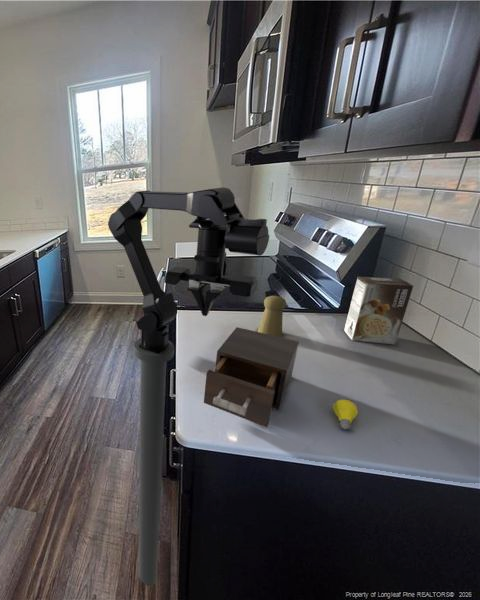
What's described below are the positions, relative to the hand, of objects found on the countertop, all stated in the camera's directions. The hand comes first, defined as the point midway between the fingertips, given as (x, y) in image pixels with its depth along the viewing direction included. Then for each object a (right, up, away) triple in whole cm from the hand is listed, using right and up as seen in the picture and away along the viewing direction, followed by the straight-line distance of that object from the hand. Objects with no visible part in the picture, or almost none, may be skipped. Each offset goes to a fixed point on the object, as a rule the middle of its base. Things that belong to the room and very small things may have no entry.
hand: (205, 315), depth 74 cm
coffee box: (+48, -7, +11) cm, 50 cm away
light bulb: (+19, -19, -16) cm, 31 cm away
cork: (+25, -6, +17) cm, 31 cm away
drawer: (+3, -17, -11) cm, 20 cm away
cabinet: (+9, -15, -4) cm, 18 cm away
